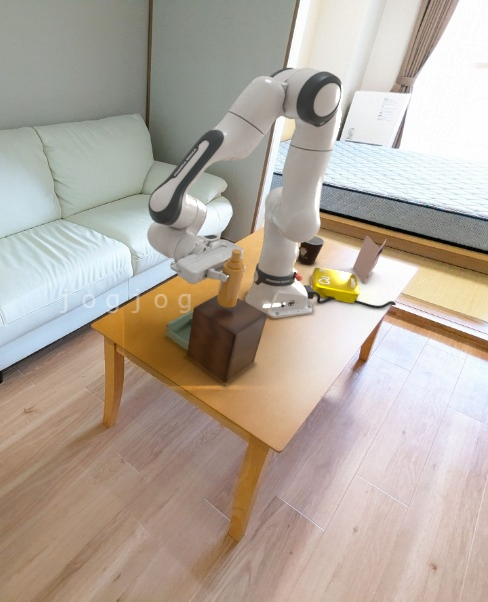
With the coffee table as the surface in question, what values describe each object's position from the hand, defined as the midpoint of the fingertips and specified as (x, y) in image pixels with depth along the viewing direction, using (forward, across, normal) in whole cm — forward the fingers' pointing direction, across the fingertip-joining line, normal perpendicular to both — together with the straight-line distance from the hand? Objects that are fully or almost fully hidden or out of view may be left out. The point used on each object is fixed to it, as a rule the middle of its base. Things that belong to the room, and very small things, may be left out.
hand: (235, 274), depth 91 cm
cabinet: (+1, 0, +29) cm, 29 cm away
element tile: (+3, +63, +29) cm, 69 cm away
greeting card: (+5, +82, +29) cm, 87 cm away
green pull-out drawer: (-11, 0, +29) cm, 31 cm away
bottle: (-1, 0, +9) cm, 9 cm away
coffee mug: (-16, +76, +29) cm, 83 cm away
